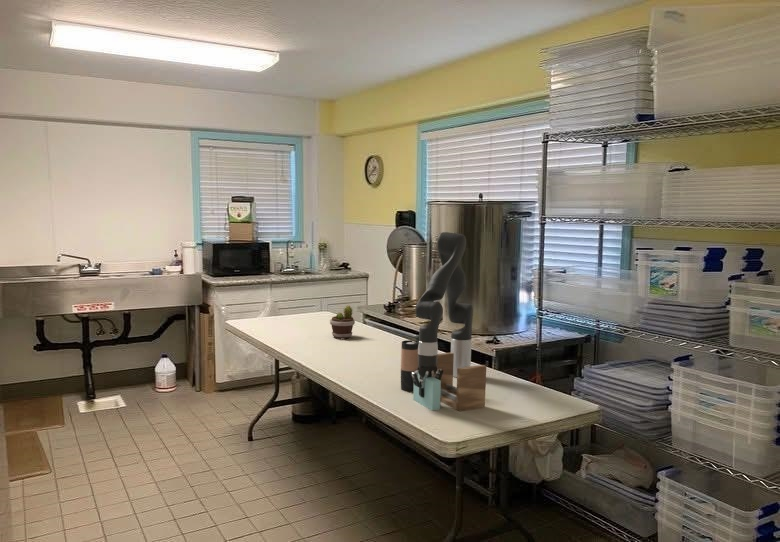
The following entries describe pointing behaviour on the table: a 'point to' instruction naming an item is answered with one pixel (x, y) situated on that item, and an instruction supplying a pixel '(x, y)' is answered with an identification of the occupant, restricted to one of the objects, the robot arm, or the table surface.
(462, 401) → the slotted wooden stand
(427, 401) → the pale teal rectangular block
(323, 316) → the table surface
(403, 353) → the travel mug
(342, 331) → the flowerpot
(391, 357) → the table surface
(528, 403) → the table surface
